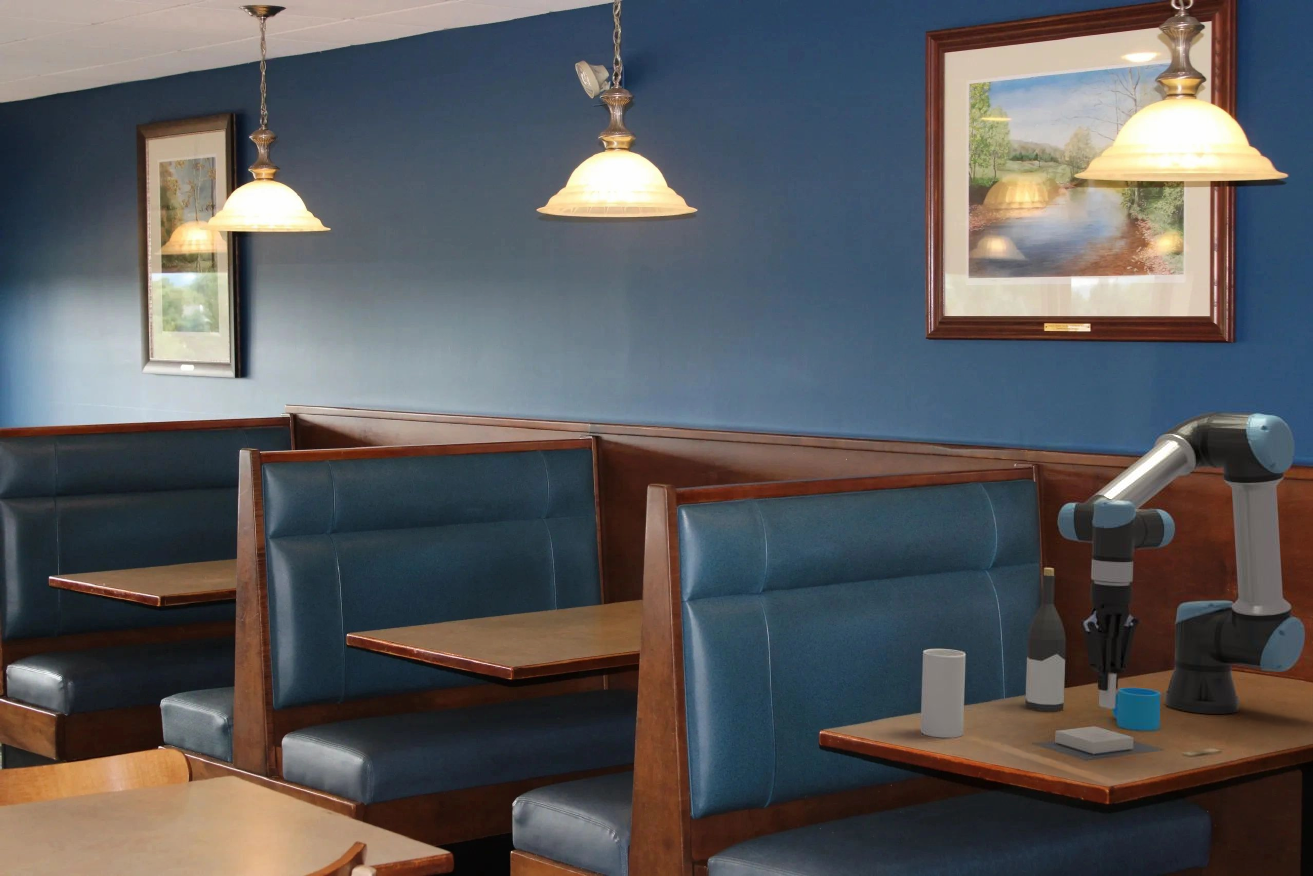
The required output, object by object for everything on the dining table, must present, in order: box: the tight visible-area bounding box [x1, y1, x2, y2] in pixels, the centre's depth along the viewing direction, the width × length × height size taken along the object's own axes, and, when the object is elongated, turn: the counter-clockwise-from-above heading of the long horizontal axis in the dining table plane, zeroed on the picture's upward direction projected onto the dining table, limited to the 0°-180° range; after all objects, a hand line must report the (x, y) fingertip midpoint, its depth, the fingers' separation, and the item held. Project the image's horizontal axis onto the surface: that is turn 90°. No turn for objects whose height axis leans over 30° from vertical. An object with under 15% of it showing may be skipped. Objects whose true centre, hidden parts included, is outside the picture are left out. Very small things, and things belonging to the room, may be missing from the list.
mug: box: [1111, 687, 1162, 731], centre depth 315 cm, size 12×8×8 cm
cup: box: [920, 648, 966, 739], centre depth 308 cm, size 8×8×16 cm
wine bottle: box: [1025, 567, 1067, 713], centre depth 334 cm, size 8×8×30 cm
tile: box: [1054, 725, 1134, 755], centre depth 294 cm, size 2×10×10 cm
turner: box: [1182, 748, 1222, 758], centre depth 289 cm, size 16×6×2 cm, turn 118°
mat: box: [1032, 740, 1165, 761], centre depth 295 cm, size 20×14×1 cm
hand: (1106, 707), depth 295 cm, fingers closed
